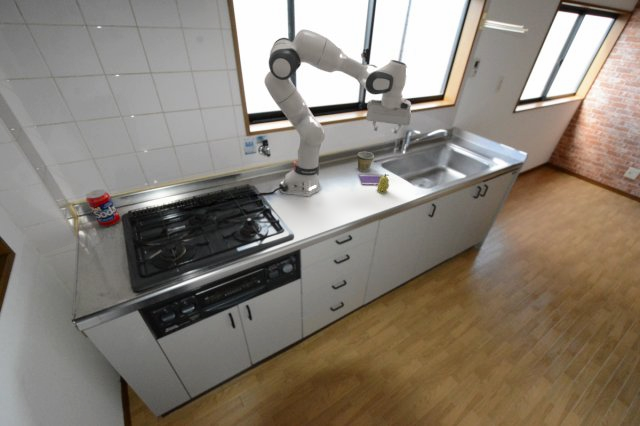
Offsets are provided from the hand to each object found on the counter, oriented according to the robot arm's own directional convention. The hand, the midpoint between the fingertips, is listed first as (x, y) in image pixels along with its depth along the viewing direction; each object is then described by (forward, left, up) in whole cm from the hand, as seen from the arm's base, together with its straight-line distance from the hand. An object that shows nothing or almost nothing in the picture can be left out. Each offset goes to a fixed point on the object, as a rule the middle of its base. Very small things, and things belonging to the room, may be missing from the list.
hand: (385, 131), depth 130 cm
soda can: (-125, -27, -35) cm, 132 cm away
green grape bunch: (+5, +2, -35) cm, 35 cm away
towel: (+3, +15, -35) cm, 38 cm away
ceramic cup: (+1, +30, -35) cm, 46 cm away
